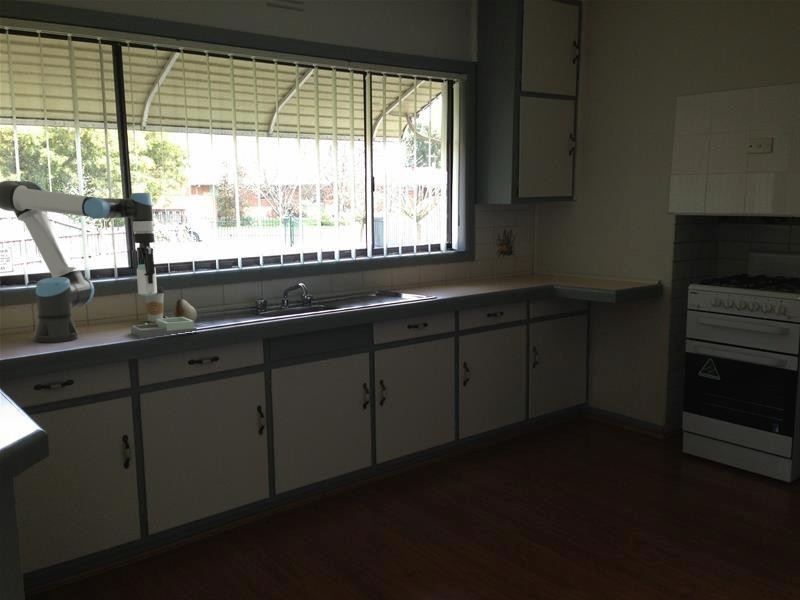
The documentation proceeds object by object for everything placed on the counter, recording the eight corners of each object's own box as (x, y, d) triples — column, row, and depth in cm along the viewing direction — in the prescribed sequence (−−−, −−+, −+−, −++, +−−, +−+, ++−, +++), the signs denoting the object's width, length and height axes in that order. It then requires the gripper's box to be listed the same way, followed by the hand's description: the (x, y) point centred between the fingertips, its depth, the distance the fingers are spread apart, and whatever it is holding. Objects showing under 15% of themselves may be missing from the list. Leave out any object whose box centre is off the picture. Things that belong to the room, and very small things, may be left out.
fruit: (179, 323, 310) (178, 296, 308) (200, 323, 309) (199, 296, 308) (170, 327, 300) (169, 299, 298) (192, 327, 299) (191, 299, 298)
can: (136, 294, 280) (134, 264, 278) (154, 293, 283) (152, 263, 282) (141, 296, 274) (138, 265, 272) (159, 294, 278) (157, 264, 276)
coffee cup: (144, 322, 311) (142, 288, 309) (147, 319, 319) (145, 286, 317) (164, 322, 312) (162, 288, 310) (166, 319, 320) (165, 286, 318)
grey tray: (141, 338, 273) (141, 326, 272) (131, 333, 284) (130, 321, 283) (197, 333, 286) (196, 320, 285) (184, 328, 297) (184, 316, 296)
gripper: (161, 232, 270) (164, 292, 273) (146, 232, 286) (150, 288, 289) (141, 233, 265) (144, 294, 268) (127, 232, 281) (131, 289, 284)
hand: (147, 290), depth 278 cm, fingers closed on can, 7 cm apart
